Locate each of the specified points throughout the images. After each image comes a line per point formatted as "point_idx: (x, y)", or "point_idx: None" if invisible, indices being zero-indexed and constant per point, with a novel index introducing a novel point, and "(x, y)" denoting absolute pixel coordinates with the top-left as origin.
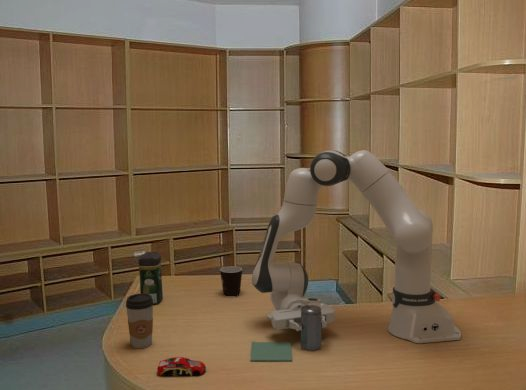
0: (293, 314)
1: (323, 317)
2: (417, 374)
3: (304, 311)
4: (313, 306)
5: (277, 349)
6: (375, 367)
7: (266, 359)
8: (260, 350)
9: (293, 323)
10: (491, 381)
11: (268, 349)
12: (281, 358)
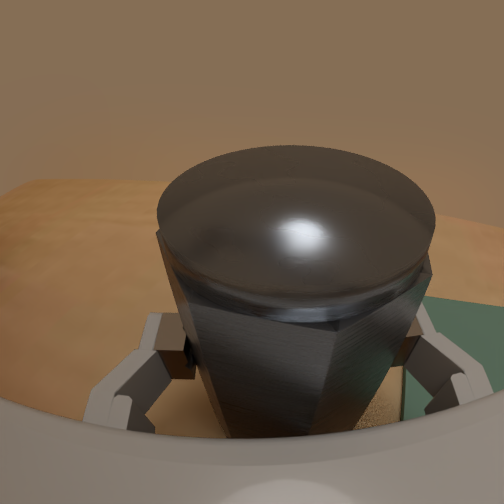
0: (464, 480)
1: (109, 388)
2: (96, 200)
3: (387, 167)
4: (227, 228)
5: None
6: (143, 227)
7: (491, 308)
8: None
9: (450, 342)
10: (41, 184)
11: (501, 385)
12: (444, 308)
